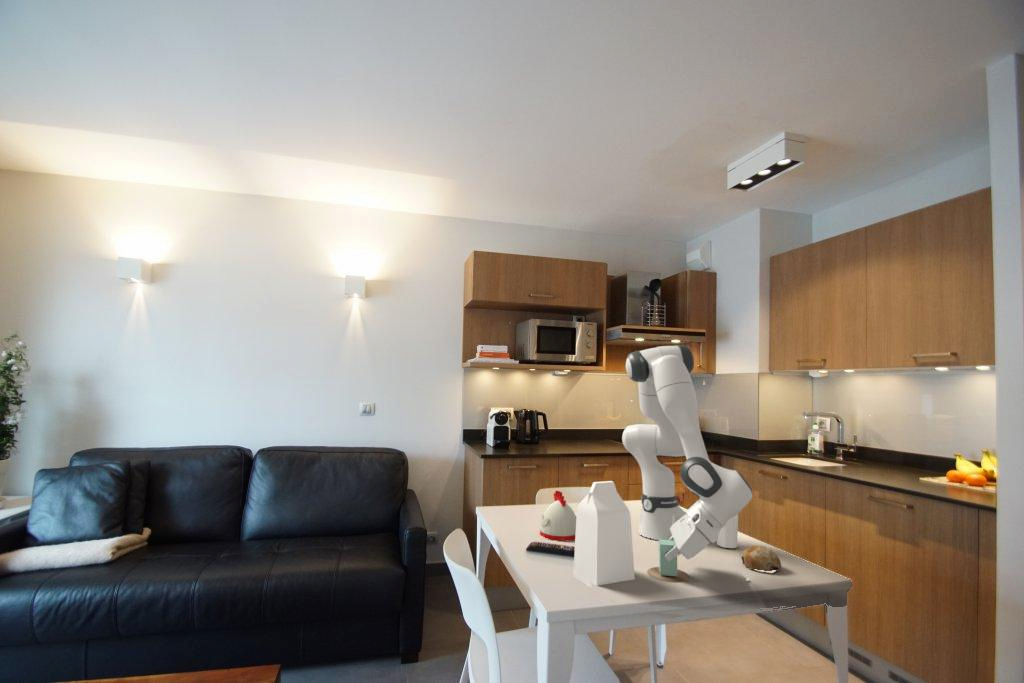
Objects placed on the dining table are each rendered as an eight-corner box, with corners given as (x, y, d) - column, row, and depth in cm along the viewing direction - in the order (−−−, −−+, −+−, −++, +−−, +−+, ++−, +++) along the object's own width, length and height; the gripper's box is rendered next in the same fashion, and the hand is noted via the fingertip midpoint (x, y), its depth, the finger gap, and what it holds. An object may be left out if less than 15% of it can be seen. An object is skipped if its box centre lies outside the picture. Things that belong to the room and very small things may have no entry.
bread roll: (759, 587, 137) (770, 564, 135) (731, 560, 146) (740, 539, 144) (781, 581, 142) (792, 559, 139) (752, 556, 150) (762, 535, 148)
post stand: (665, 569, 139) (664, 544, 140) (698, 582, 130) (697, 555, 131) (638, 577, 133) (638, 550, 134) (671, 591, 124) (670, 563, 125)
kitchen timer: (568, 528, 180) (568, 486, 181) (586, 539, 167) (586, 494, 168) (533, 531, 175) (534, 488, 176) (549, 542, 162) (550, 496, 164)
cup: (738, 552, 156) (737, 506, 157) (711, 547, 160) (711, 503, 162) (741, 545, 163) (740, 501, 164) (716, 541, 167) (715, 498, 168)
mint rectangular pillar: (658, 569, 135) (658, 539, 135) (675, 570, 134) (675, 540, 135) (660, 574, 130) (660, 544, 131) (677, 576, 129) (677, 545, 130)
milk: (596, 591, 123) (596, 487, 126) (573, 575, 134) (573, 479, 136) (634, 585, 128) (634, 484, 130) (609, 569, 138) (609, 477, 141)
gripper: (687, 502, 142) (653, 534, 143) (700, 521, 122) (660, 558, 123) (704, 519, 141) (669, 551, 142) (719, 541, 121) (678, 578, 122)
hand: (665, 554), depth 133 cm, fingers closed on mint rectangular pillar, 4 cm apart
